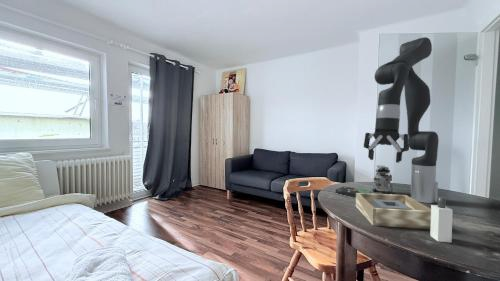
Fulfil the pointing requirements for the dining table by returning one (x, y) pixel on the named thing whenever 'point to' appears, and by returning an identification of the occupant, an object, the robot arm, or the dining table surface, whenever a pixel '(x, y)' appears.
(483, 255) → the dining table surface
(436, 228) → the plug
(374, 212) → the walled box
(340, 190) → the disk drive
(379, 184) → the figurine
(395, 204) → the block
